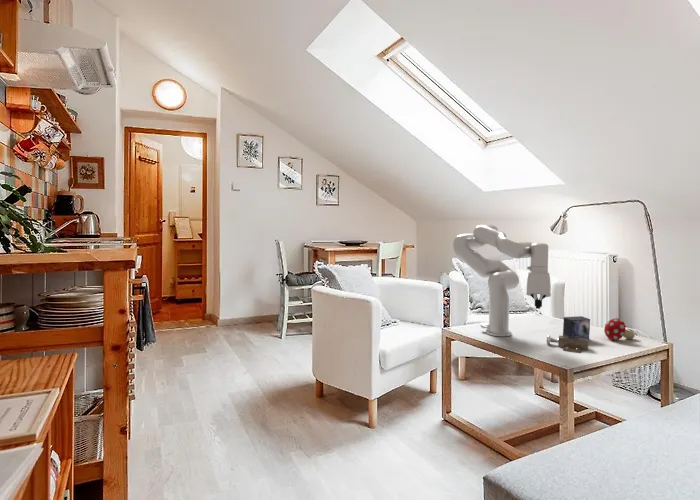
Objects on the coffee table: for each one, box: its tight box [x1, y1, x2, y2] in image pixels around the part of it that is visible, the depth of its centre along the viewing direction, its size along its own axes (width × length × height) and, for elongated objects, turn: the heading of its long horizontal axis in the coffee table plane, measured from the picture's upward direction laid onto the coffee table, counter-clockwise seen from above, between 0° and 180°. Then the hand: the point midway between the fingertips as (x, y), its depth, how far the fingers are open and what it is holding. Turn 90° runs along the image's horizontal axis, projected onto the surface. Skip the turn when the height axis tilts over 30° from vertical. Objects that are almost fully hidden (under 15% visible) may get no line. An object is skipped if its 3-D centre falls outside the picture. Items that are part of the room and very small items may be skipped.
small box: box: [562, 315, 591, 341], centre depth 222 cm, size 11×6×10 cm, turn 101°
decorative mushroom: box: [603, 317, 635, 341], centre depth 220 cm, size 11×11×15 cm
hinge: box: [557, 335, 589, 354], centre depth 207 cm, size 12×15×4 cm
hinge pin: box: [546, 334, 559, 345], centre depth 209 cm, size 14×4×4 cm, turn 60°
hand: (538, 308), depth 214 cm, fingers closed
